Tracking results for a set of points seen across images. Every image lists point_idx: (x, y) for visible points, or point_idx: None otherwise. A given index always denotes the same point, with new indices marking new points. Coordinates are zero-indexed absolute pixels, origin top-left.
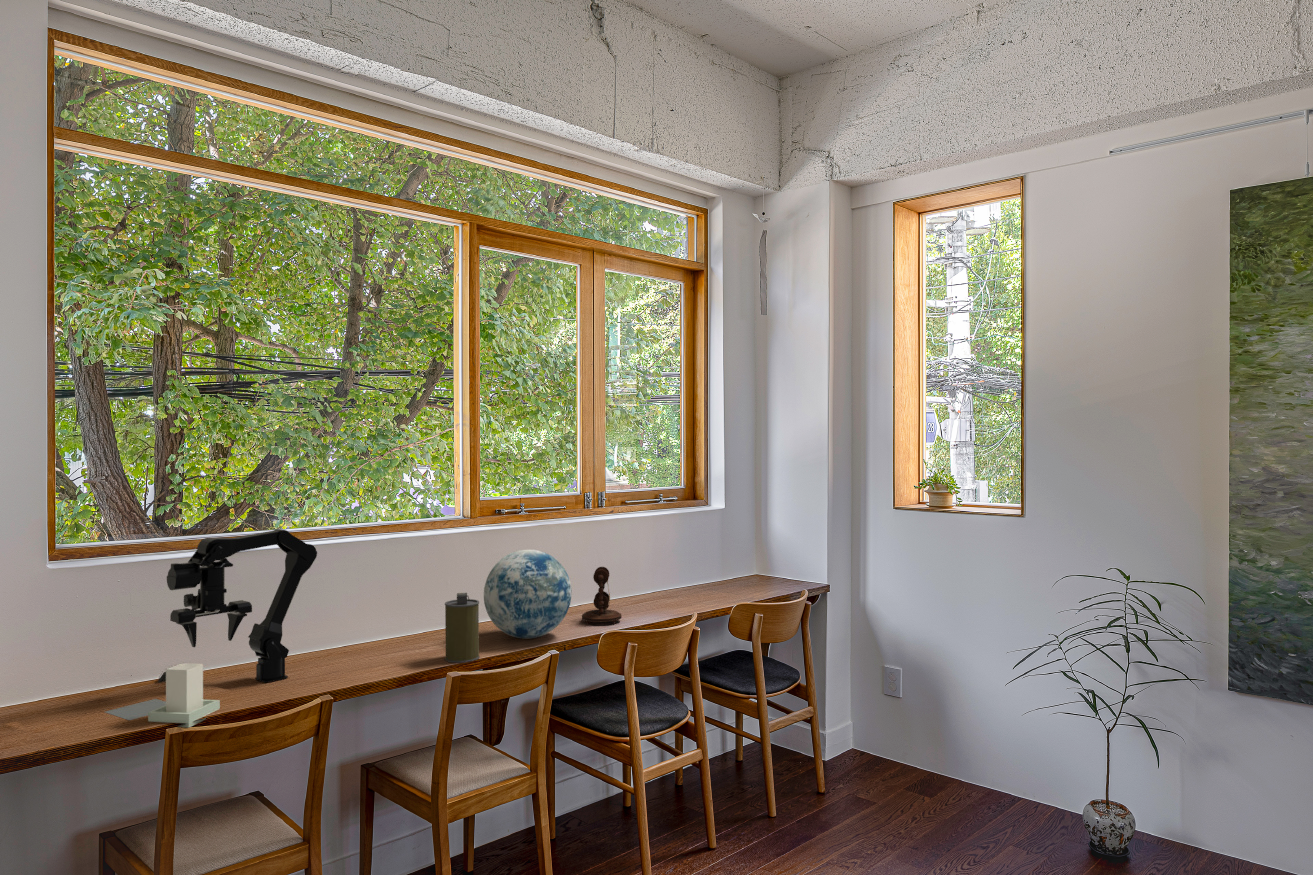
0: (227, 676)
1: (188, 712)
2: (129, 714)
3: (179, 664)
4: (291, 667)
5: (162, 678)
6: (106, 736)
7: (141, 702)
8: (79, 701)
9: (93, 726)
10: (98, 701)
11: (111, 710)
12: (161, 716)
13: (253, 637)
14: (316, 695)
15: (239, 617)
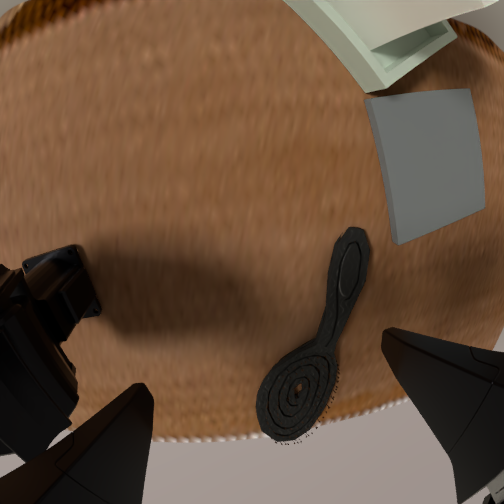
0: (173, 380)
1: None
2: (465, 136)
3: (491, 1)
4: None
5: (317, 409)
6: (486, 53)
7: (428, 230)
8: (454, 341)
9: (498, 141)
10: (444, 325)
11: (476, 207)
12: None
13: (38, 390)
14: (12, 29)
15: (12, 497)
